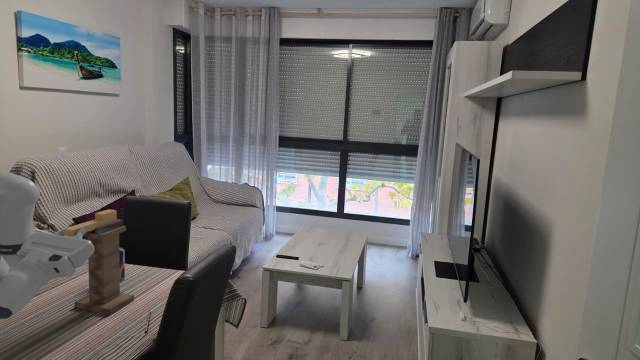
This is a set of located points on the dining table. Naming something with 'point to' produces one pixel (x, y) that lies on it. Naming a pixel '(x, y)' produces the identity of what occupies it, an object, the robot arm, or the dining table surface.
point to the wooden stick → (93, 222)
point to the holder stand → (105, 271)
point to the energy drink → (122, 263)
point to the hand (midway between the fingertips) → (77, 228)
